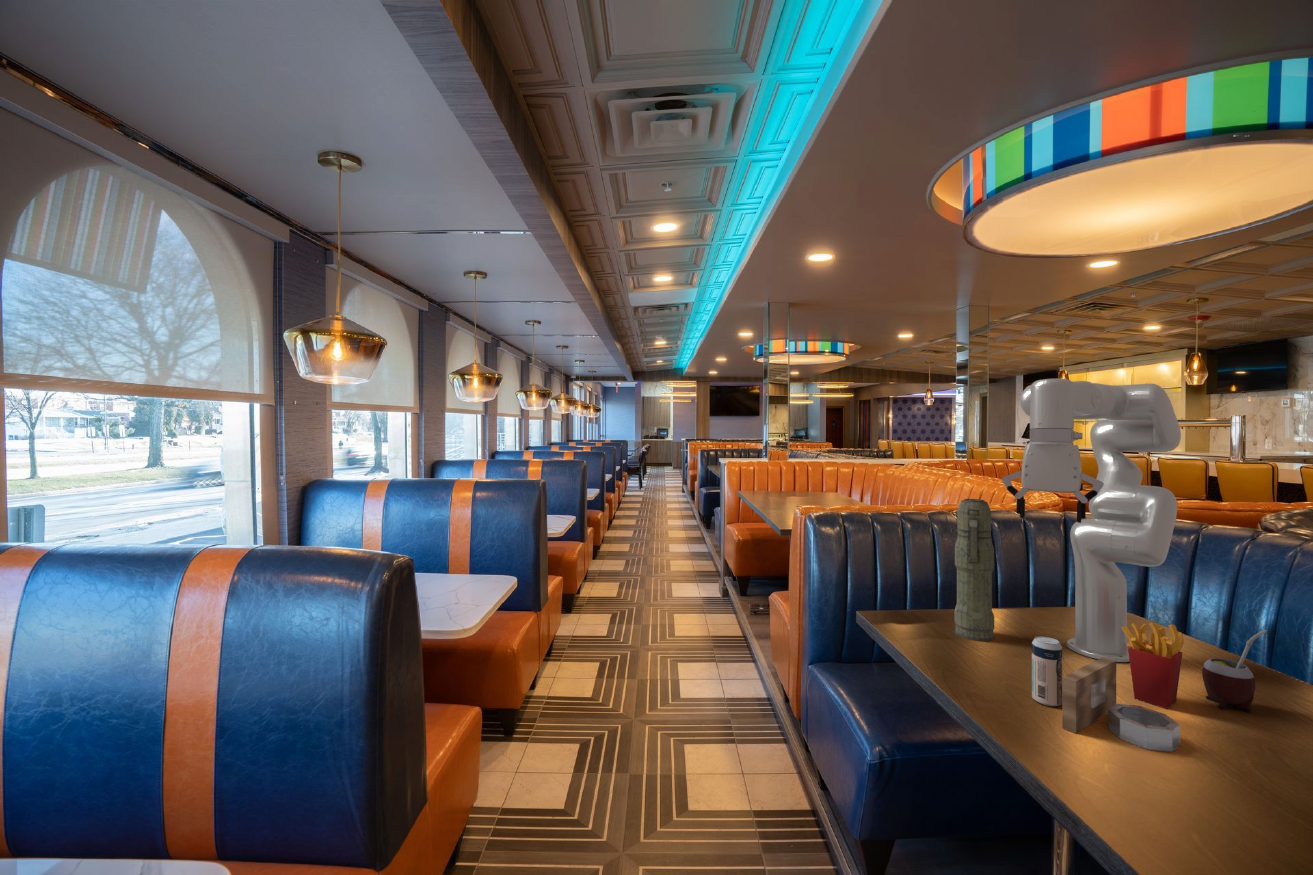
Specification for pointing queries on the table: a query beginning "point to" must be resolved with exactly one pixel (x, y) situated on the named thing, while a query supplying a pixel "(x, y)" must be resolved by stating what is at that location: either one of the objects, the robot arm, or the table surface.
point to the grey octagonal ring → (1144, 727)
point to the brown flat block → (1088, 694)
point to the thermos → (974, 571)
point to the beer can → (1047, 671)
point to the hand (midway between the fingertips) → (1050, 519)
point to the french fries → (1155, 664)
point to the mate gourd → (1230, 680)
